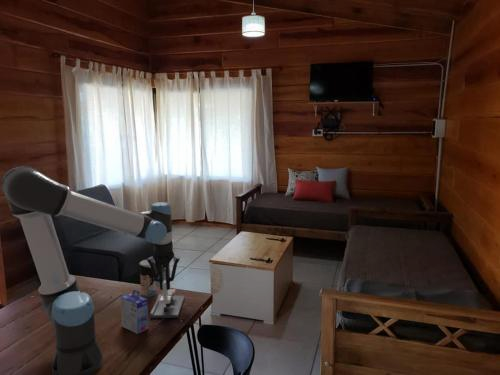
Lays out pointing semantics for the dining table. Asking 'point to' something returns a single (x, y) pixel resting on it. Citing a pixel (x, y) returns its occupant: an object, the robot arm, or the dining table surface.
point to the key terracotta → (173, 291)
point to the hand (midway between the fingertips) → (165, 296)
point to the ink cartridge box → (134, 312)
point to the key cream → (165, 300)
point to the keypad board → (167, 308)
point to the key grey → (170, 293)
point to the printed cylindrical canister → (147, 279)
